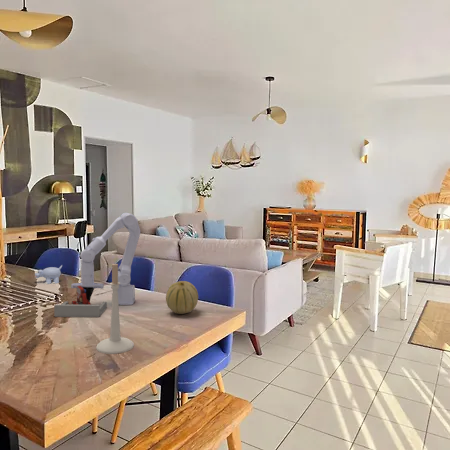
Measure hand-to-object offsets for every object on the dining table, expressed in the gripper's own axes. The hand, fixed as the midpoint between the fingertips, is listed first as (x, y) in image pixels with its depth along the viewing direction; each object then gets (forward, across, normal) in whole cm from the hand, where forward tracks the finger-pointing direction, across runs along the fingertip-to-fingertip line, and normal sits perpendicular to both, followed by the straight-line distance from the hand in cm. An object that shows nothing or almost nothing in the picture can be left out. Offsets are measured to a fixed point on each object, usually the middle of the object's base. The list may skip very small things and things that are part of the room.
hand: (87, 303), depth 194 cm
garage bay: (+1, 0, +10) cm, 10 cm away
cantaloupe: (+2, -45, +10) cm, 46 cm away
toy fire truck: (+2, +1, +7) cm, 7 cm away
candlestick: (+2, -24, +50) cm, 55 cm away
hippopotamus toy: (+2, +37, -49) cm, 62 cm away
